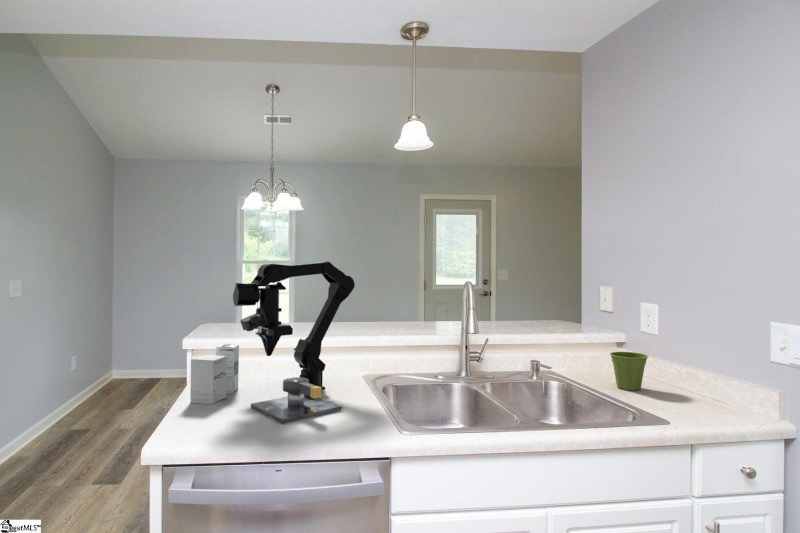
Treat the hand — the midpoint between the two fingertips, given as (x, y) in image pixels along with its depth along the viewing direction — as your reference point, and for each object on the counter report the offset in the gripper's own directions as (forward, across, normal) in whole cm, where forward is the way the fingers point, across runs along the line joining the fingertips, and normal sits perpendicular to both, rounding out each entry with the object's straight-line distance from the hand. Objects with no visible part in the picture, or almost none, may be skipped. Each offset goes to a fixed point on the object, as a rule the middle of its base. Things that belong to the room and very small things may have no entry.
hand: (268, 355), depth 150 cm
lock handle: (+7, +22, -1) cm, 23 cm away
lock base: (+12, +18, -1) cm, 22 cm away
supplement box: (+12, -6, -16) cm, 21 cm away
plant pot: (+12, +68, +95) cm, 117 cm away
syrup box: (+12, -12, -8) cm, 19 cm away
